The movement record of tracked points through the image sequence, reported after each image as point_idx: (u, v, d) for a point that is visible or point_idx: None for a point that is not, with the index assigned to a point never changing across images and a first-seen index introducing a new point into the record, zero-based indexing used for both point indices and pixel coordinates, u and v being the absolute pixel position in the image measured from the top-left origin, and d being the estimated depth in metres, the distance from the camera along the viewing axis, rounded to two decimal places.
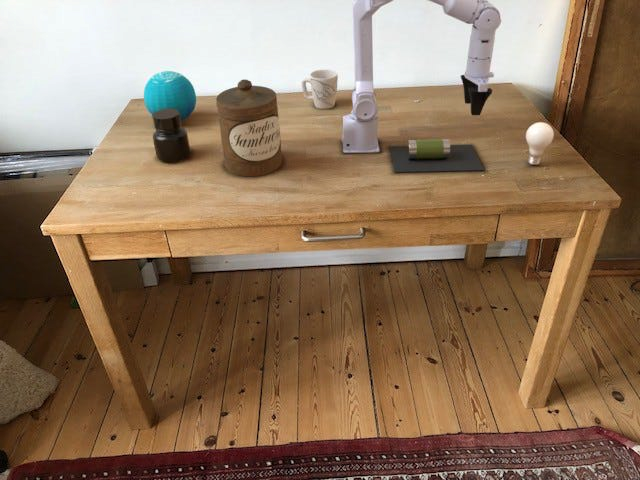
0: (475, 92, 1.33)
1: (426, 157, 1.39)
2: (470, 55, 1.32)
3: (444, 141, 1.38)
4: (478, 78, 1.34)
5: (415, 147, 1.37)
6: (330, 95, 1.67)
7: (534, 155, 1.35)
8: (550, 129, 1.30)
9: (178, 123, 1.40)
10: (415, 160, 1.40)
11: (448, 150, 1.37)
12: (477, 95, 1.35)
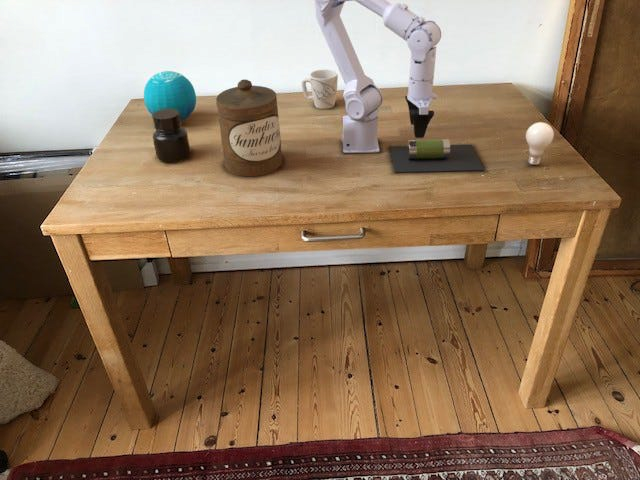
0: (416, 115, 1.28)
1: (426, 157, 1.39)
2: (409, 74, 1.29)
3: (444, 141, 1.38)
4: (420, 100, 1.29)
5: (415, 147, 1.37)
6: (330, 95, 1.67)
7: (534, 155, 1.35)
8: (550, 129, 1.30)
9: (178, 123, 1.40)
10: (415, 160, 1.40)
11: (448, 150, 1.37)
12: (419, 117, 1.30)
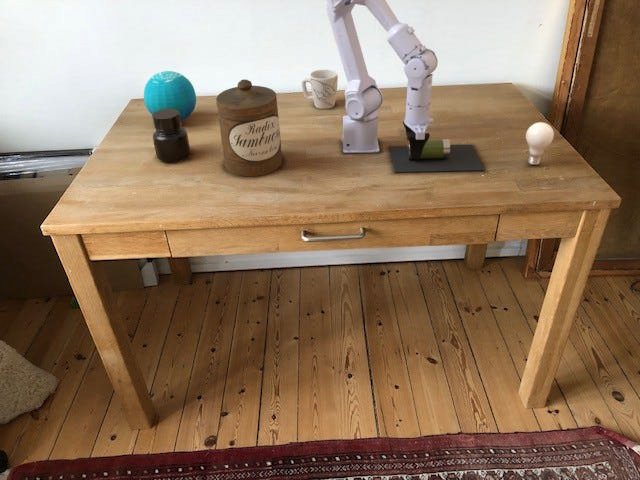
0: (412, 137, 1.32)
1: (426, 157, 1.39)
2: (406, 100, 1.32)
3: (444, 141, 1.38)
4: (416, 125, 1.32)
5: None
6: (330, 95, 1.67)
7: (534, 155, 1.35)
8: (550, 129, 1.30)
9: (178, 123, 1.40)
10: (415, 160, 1.40)
11: (448, 150, 1.37)
12: (415, 140, 1.35)
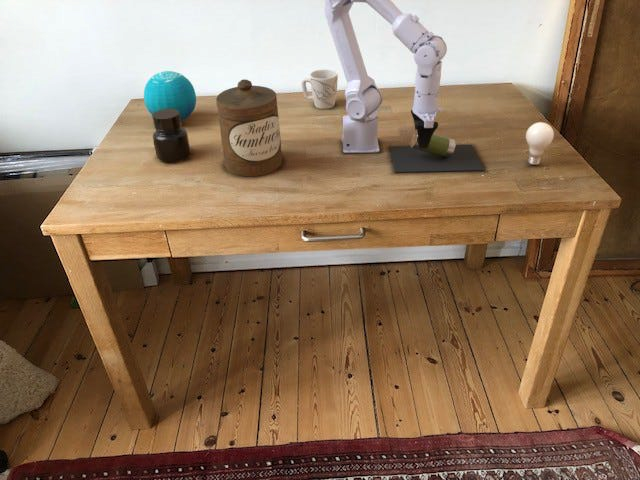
0: (421, 126, 1.30)
1: (429, 151, 1.38)
2: (415, 88, 1.30)
3: (450, 140, 1.38)
4: (425, 113, 1.31)
5: None
6: (330, 95, 1.67)
7: (534, 155, 1.35)
8: (550, 129, 1.30)
9: (178, 123, 1.40)
10: (415, 160, 1.40)
11: (452, 150, 1.37)
12: (424, 128, 1.33)
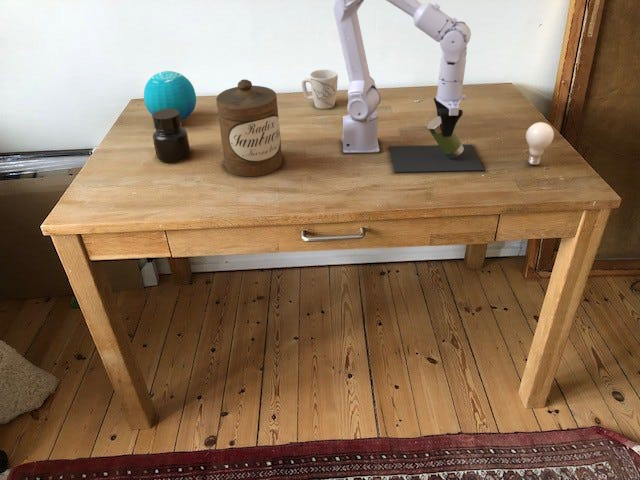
0: (445, 114, 1.29)
1: (441, 142, 1.36)
2: (439, 76, 1.28)
3: (461, 144, 1.38)
4: (449, 101, 1.29)
5: None
6: (330, 95, 1.67)
7: (534, 155, 1.35)
8: (550, 129, 1.30)
9: (178, 123, 1.40)
10: (415, 160, 1.40)
11: (458, 153, 1.38)
12: (448, 116, 1.31)
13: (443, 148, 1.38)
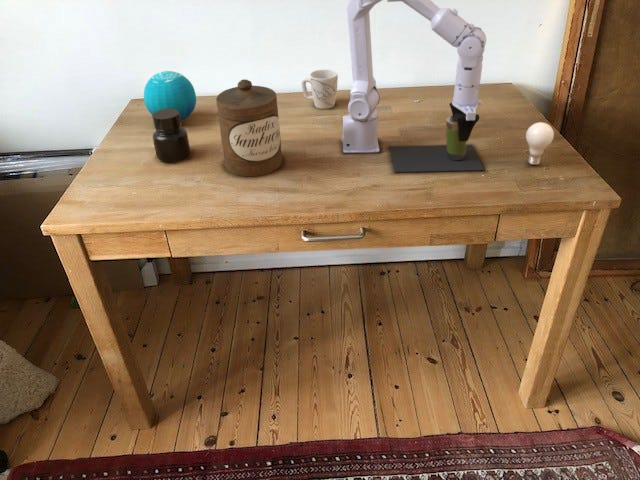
0: (462, 119, 1.29)
1: (452, 139, 1.36)
2: (456, 81, 1.29)
3: None
4: (466, 106, 1.30)
5: None
6: (330, 95, 1.67)
7: (534, 155, 1.35)
8: (550, 129, 1.30)
9: (178, 123, 1.40)
10: (415, 160, 1.40)
11: (460, 158, 1.38)
12: (464, 121, 1.32)
13: (450, 147, 1.37)
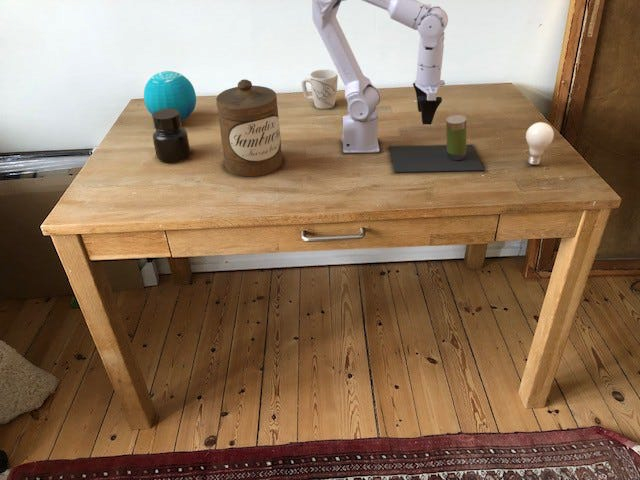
0: (424, 101, 1.28)
1: (452, 139, 1.36)
2: (418, 61, 1.29)
3: None
4: (428, 86, 1.29)
5: (463, 127, 1.34)
6: (330, 95, 1.67)
7: (534, 155, 1.35)
8: (550, 129, 1.30)
9: (178, 123, 1.40)
10: (415, 160, 1.40)
11: (460, 158, 1.38)
12: (427, 104, 1.31)
13: (450, 147, 1.37)
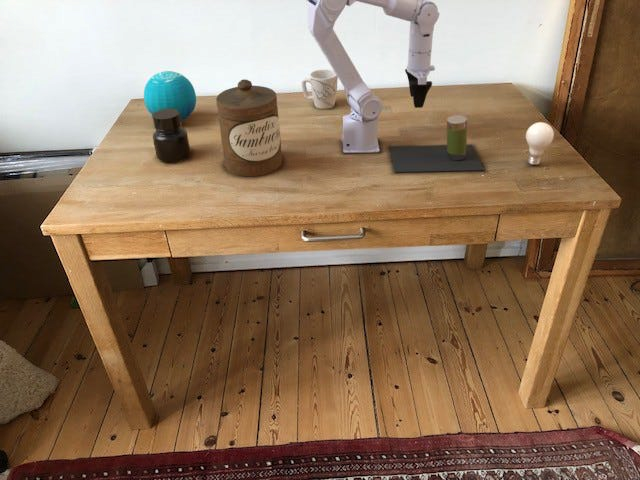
0: (415, 85, 1.37)
1: (453, 139, 1.36)
2: (412, 50, 1.36)
3: None
4: (418, 71, 1.38)
5: (464, 127, 1.34)
6: (330, 95, 1.67)
7: (534, 155, 1.35)
8: (550, 129, 1.30)
9: (178, 123, 1.40)
10: (415, 160, 1.40)
11: (461, 158, 1.38)
12: (418, 88, 1.39)
13: (450, 147, 1.37)
